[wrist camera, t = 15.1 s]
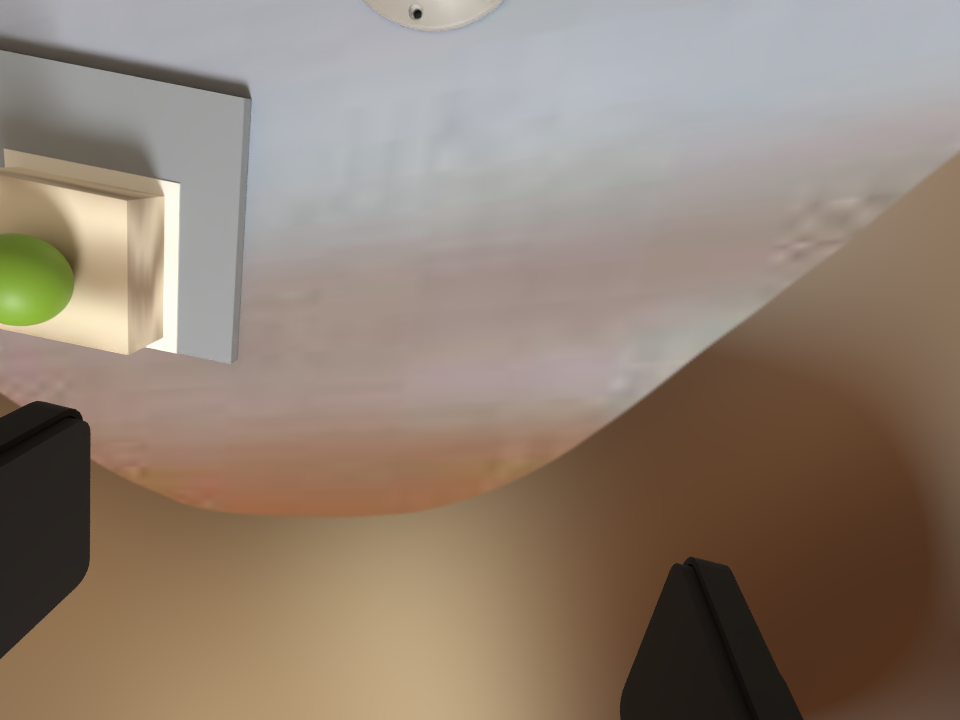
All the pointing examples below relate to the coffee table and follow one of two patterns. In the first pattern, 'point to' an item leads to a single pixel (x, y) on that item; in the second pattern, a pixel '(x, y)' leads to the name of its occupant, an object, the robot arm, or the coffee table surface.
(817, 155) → the coffee table surface
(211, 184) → the board
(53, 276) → the snail figurine
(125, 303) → the pedestal block
